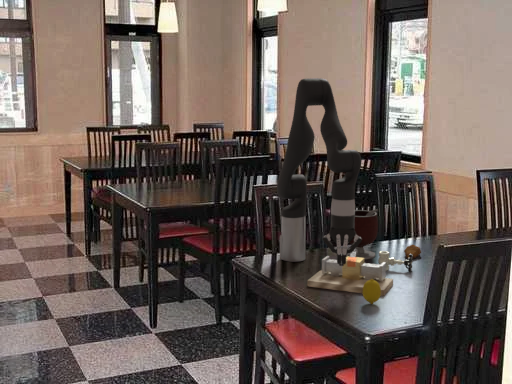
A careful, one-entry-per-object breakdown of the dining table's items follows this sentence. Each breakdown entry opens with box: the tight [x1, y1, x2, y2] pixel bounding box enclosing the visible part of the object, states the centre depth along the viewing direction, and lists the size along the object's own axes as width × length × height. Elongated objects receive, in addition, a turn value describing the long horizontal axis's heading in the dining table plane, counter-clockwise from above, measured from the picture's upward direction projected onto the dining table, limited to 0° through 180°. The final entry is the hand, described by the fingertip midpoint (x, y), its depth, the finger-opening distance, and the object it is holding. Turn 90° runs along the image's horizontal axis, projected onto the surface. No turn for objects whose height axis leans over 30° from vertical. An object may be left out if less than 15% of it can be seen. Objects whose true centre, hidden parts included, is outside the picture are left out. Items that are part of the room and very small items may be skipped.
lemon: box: [362, 279, 381, 305], centre depth 194 cm, size 6×6×8 cm
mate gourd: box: [346, 208, 379, 260], centre depth 248 cm, size 16×14×20 cm
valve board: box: [307, 269, 394, 297], centre depth 212 cm, size 26×13×2 cm, turn 65°
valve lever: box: [347, 248, 358, 267], centre depth 207 cm, size 17×3×2 cm, turn 169°
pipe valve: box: [321, 255, 387, 281], centre depth 215 cm, size 21×6×8 cm, turn 65°
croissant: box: [403, 244, 422, 260], centre depth 248 cm, size 14×7×5 cm, turn 156°
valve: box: [377, 250, 414, 273], centre depth 229 cm, size 7×7×12 cm
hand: (341, 265), depth 202 cm, fingers closed
